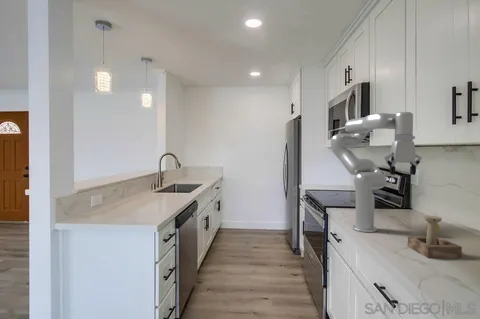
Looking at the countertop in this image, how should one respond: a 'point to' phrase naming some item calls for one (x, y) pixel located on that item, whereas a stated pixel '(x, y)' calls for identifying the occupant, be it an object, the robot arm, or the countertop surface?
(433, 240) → the handle
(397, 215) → the countertop surface
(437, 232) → the lemon
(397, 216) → the countertop surface
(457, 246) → the square frame
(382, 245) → the countertop surface
